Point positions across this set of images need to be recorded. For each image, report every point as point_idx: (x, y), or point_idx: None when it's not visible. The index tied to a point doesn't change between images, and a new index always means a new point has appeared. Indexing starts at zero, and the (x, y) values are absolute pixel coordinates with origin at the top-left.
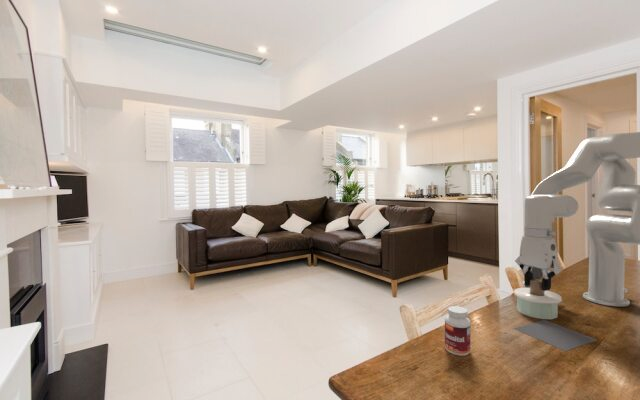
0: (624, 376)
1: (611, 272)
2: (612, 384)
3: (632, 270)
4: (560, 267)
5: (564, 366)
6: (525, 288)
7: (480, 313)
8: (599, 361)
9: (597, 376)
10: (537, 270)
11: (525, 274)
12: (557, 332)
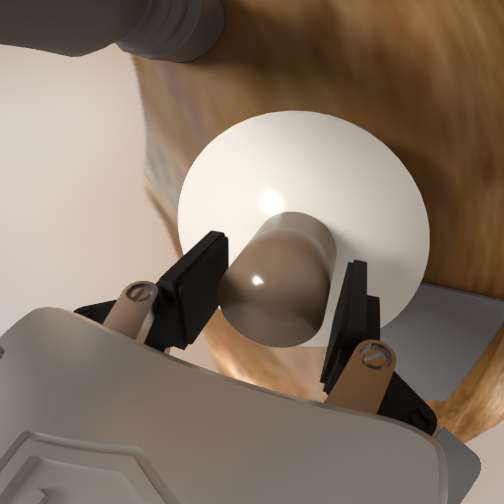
0: None
1: None
2: (491, 419)
3: None
4: (462, 497)
5: (440, 426)
6: (196, 198)
7: (219, 344)
8: (494, 384)
9: (479, 418)
10: (90, 2)
11: (179, 343)
12: (427, 339)
